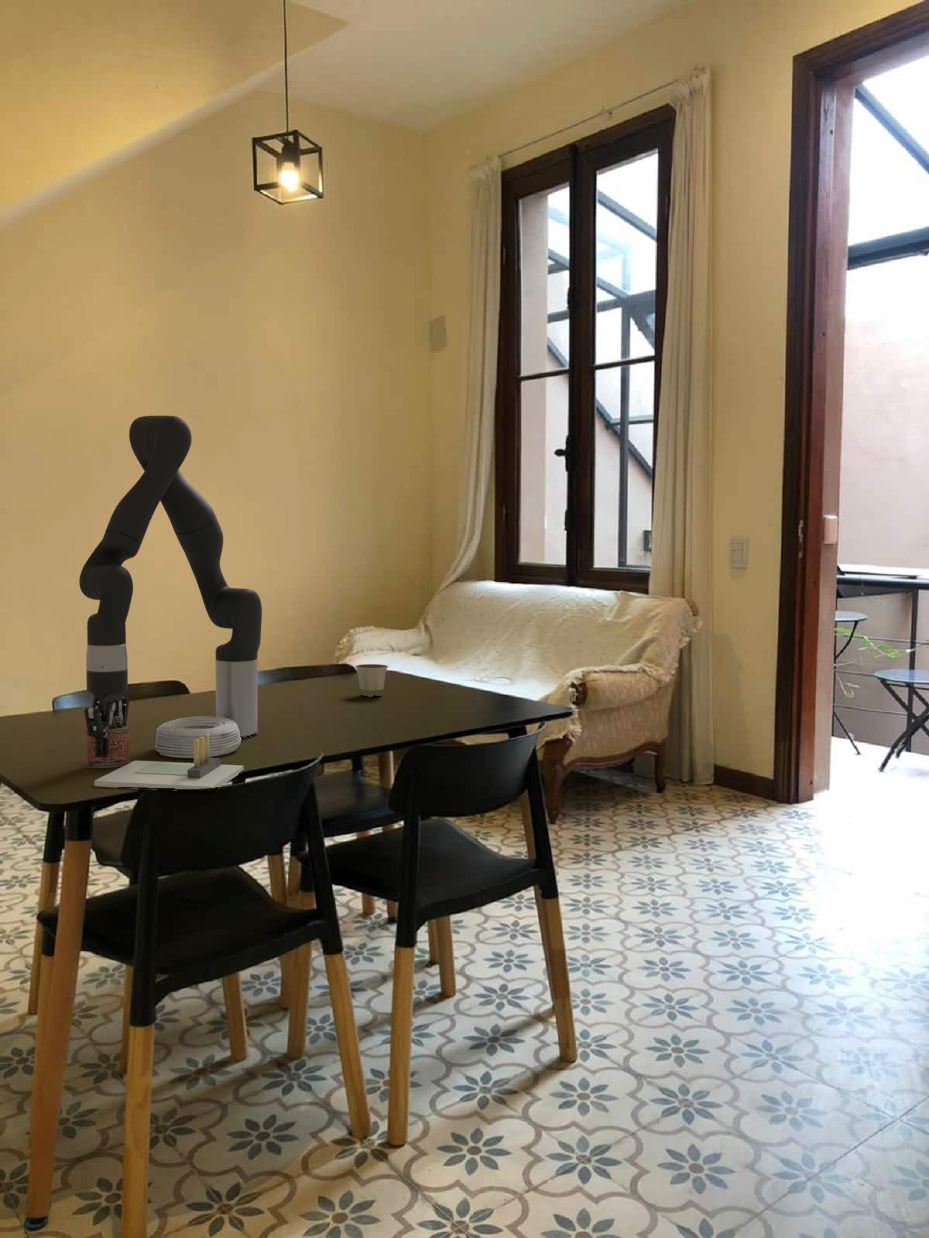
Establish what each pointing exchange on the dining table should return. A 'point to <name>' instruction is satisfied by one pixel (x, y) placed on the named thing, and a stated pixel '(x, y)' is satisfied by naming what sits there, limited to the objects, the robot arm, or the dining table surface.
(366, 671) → the flower pot
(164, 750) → the cable
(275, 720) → the dining table surface
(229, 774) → the board
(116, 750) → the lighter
